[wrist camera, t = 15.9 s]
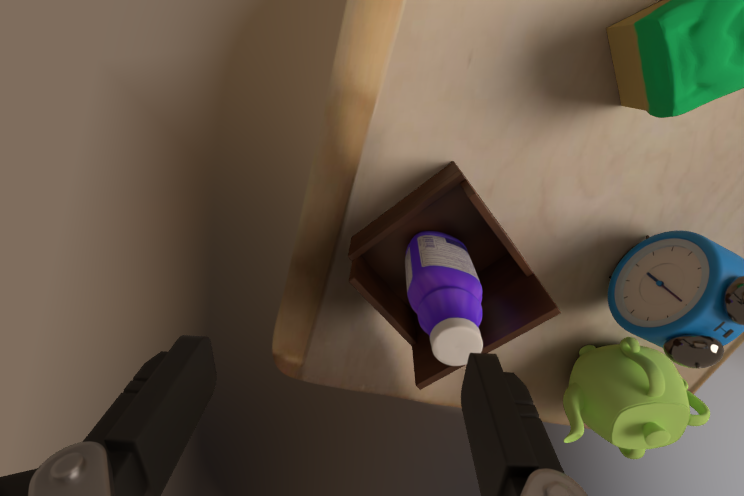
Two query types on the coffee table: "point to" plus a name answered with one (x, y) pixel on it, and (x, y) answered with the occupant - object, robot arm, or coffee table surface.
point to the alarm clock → (680, 296)
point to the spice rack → (486, 250)
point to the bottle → (445, 295)
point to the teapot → (630, 398)
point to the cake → (678, 55)
